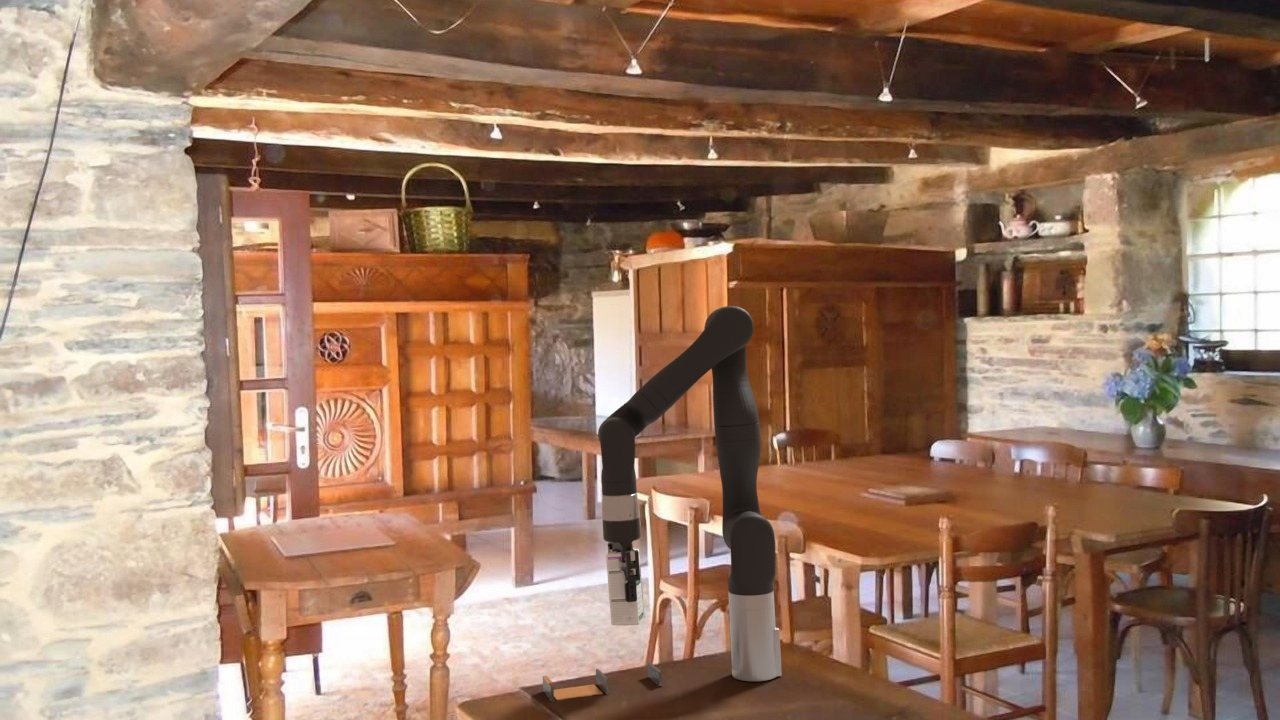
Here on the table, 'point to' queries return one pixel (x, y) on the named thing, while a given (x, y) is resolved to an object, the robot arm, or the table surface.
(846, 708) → the table surface
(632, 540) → the robot arm
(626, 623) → the syrup box
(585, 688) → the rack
